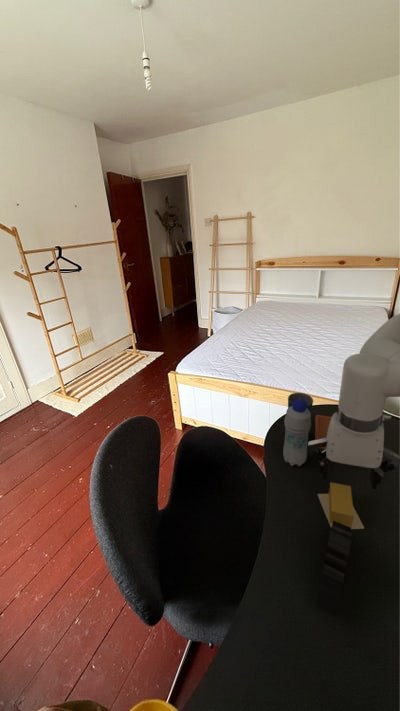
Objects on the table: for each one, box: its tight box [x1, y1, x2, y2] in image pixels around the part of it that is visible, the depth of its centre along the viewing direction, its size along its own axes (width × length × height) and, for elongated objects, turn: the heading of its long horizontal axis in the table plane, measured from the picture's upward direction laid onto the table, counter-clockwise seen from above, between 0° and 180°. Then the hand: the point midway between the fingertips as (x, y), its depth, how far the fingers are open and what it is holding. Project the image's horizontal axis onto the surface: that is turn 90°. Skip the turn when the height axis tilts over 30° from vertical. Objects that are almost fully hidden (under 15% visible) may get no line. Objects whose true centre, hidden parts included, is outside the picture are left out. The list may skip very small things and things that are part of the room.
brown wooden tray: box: [314, 414, 332, 450], centre depth 91 cm, size 14×12×2 cm
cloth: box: [317, 493, 365, 530], centre depth 69 cm, size 7×9×1 cm
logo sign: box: [314, 520, 353, 619], centre depth 56 cm, size 18×4×11 cm, turn 149°
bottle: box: [282, 400, 312, 467], centre depth 79 cm, size 7×7×20 cm
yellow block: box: [328, 481, 354, 527], centre depth 68 cm, size 8×4×4 cm, turn 160°
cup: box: [287, 392, 314, 414], centre depth 87 cm, size 7×7×15 cm
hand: (347, 479), depth 65 cm, fingers open, 9 cm apart
